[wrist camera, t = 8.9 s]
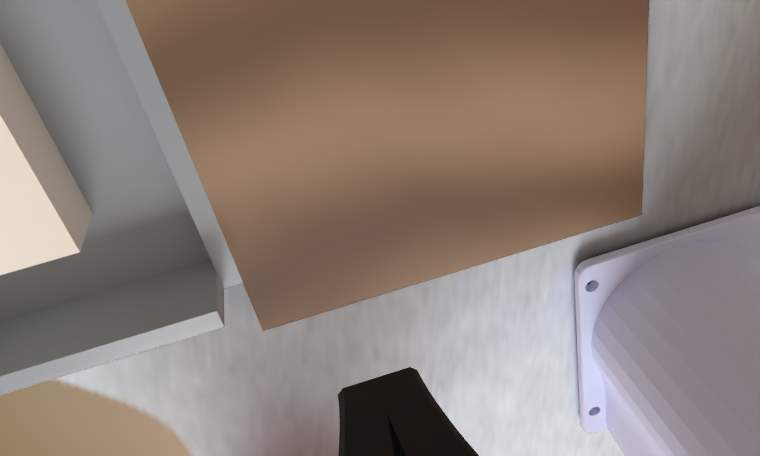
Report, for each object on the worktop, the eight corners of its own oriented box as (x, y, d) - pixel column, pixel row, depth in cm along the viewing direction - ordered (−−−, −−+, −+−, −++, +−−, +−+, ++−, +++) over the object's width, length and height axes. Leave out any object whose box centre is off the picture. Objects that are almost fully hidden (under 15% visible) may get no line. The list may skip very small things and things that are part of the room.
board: (622, 197, 22) (641, 214, 21) (260, 307, 21) (263, 330, 20) (631, -443, 13) (665, -467, 12) (10, -305, 12) (-7, -318, 11)
